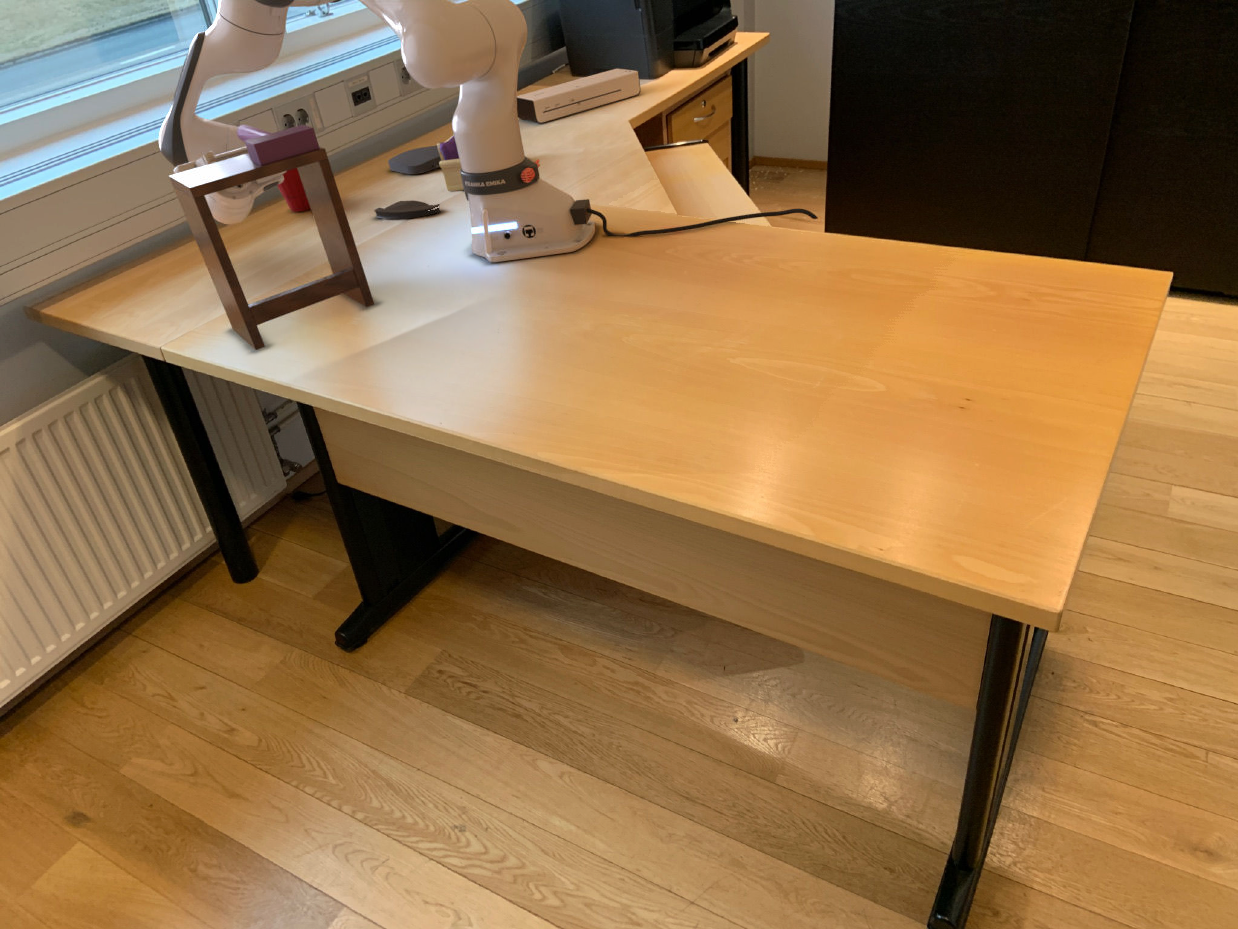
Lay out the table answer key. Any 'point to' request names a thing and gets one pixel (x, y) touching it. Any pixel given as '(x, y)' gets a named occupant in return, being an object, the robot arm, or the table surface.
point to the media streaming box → (416, 160)
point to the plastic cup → (294, 191)
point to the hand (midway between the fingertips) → (237, 148)
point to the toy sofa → (450, 164)
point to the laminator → (578, 95)
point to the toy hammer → (277, 143)
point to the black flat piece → (406, 210)
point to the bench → (327, 219)
